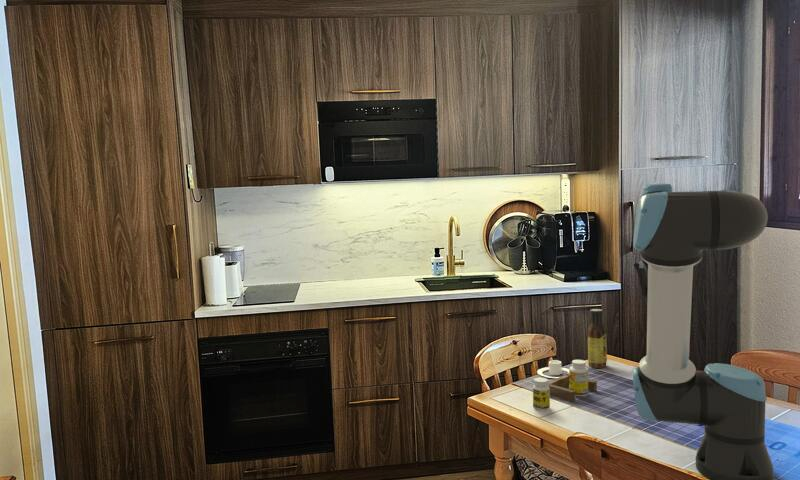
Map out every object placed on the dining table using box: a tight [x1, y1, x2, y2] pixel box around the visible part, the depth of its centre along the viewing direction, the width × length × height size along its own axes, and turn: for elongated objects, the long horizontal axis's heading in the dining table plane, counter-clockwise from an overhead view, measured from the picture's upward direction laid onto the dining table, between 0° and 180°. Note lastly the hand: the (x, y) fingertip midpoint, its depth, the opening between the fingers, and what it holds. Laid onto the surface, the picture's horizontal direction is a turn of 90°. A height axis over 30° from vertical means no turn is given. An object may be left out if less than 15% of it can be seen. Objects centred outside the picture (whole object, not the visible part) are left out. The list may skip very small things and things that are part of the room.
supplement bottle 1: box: [532, 377, 551, 411], centre depth 176 cm, size 5×5×8 cm
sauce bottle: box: [587, 308, 608, 369], centre depth 211 cm, size 7×6×20 cm
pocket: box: [548, 373, 598, 403], centre depth 188 cm, size 13×10×3 cm
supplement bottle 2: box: [568, 359, 589, 397], centre depth 186 cm, size 6×6×10 cm
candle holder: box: [536, 359, 569, 379], centre depth 206 cm, size 12×12×4 cm
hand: (657, 322), depth 172 cm, fingers closed
